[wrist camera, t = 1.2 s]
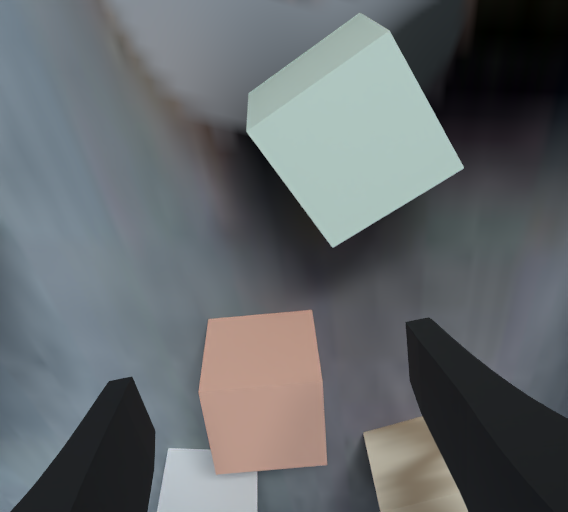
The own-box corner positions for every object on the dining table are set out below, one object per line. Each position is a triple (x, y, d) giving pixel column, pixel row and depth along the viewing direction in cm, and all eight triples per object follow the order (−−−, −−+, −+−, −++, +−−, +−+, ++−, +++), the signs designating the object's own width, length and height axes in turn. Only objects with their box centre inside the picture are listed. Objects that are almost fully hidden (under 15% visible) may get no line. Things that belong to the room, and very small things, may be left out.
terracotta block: (311, 309, 26) (322, 381, 21) (316, 386, 28) (327, 465, 24) (208, 318, 26) (198, 392, 22) (222, 394, 28) (216, 474, 24)
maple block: (450, 407, 30) (483, 486, 25) (465, 464, 32) (498, 545, 28) (363, 431, 30) (380, 512, 26) (384, 485, 33) (403, 567, 28)
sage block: (359, 12, 19) (389, 30, 15) (422, 124, 22) (464, 168, 17) (248, 93, 21) (246, 131, 16) (318, 191, 23) (332, 247, 18)
